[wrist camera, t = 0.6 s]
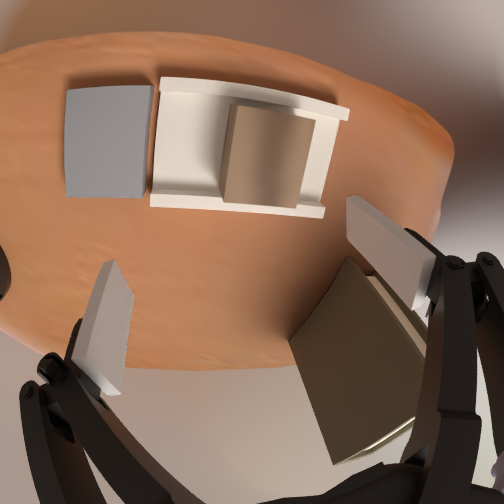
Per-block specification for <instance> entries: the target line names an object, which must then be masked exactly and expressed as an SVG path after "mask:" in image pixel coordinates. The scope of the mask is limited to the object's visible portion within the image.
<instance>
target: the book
mask: <svg viewBox="0 0 504 504" xmlns="http://www.w3.org/2000/svg"><path fill="white" fill-rule="evenodd" d="M427 334H428V328H427V326H426V325H425V324H424V322H423V321H422V320H421V318H420V317H419V316H418V314H417V313H416V312H415V311H414V310H412V311H411V310H410V309H409V308H408V306H407V305H406V304H405V303H404V302H403V301H402V299H401V298H400V297H399V296H398V295H397V294H396V292H395V291H394V290H393V289H392V288H391V287H390V285H389V284H388V283H387V282H386V281H385V280H384V279H383V278H382V276H381V275H380V274H379V273H378V272H377V271H376V270H375V271H374V273H373V274H372V276H366V275H365V274H364V273H363V272H362V270H361V269H360V268H359V267H358V265H357V264H356V263H355V262H354V260H353V259H352V258H349V257H346V259H345V261H344V263H343V265H342V267H341V269H340V270H339V272H338V274H337V276H336V278H335V280H334V282H333V283H332V285H331V287H330V289H329V290H328V291H327V293H326V294H325V296H324V297H323V298H322V300H321V301H320V303H319V304H318V305H317V307H316V308H315V309H314V311H313V312H312V313H311V315H310V316H309V317H308V319H307V320H306V321H305V322H304V324H303V325H302V326H301V327H300V328H299V330H298V331H297V332H296V333H295V334H294V336H293V337H292V338H291V339H290V340H289V341H288V342H289V345H290V347H291V350H292V353H293V356H294V358H295V361H296V364H297V366H298V369H299V372H300V375H301V377H302V380H303V383H304V386H305V388H306V391H307V394H308V397H309V400H310V402H311V405H312V408H313V411H314V413H315V416H316V419H317V422H318V424H319V427H320V430H321V432H322V435H323V438H324V441H325V444H326V446H327V449H328V452H329V455H330V458H331V461H332V463H333V465H338V464H343V463H347V462H351V461H354V460H357V459H360V458H362V457H365V456H368V455H371V454H373V453H374V452H376V451H378V450H379V449H381V448H383V447H384V446H386V445H387V444H389V443H390V442H392V441H394V440H395V439H397V438H398V437H400V436H401V435H403V434H404V433H406V432H407V431H409V430H410V429H411V428H413V424H414V420H415V416H416V411H417V406H418V401H419V396H420V390H421V384H422V378H423V371H424V363H425V355H426V345H427Z"/></svg>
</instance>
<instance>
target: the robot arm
mask: <svg viewBox="0 0 504 504" xmlns="http://www.w3.org/2000/svg"><path fill="white" fill-rule="evenodd" d="M346 228H347V240H348V241H349V242H350V243H351V244H352V245H353V246H354V247H355V248H356V249H357V250H358V251H359V252H360V253H361V255H362V256H363V257H364V258H365V259H366V260H367V261H368V262H369V263H370V264H371V265H372V266H373V268H374V269H375V270H376V271H377V272H378V273H379V274H380V275H381V276H382V278H383V279H384V280H385V281H386V282H387V283H388V284H389V285H390V287H391V288H392V289H393V290H394V291H395V292H396V294H397V295H398V296H399V297H400V298H401V299H402V301H403V302H404V303H405V304H406V305H407V306H408V308H409V309H410V310H411V311H412V310H414V309H416V308H418V307H420V306H422V305H423V304H424V300H425V297H426V295H427V296H428V297H429V298H430V300H431V301H430V304H429V307H428V310H427V313H426V316H425V317H427V316H428V314H429V318H428V319H429V320H428V334H427V345H426V355H425V363H424V371H423V378H422V384H421V390H420V396H419V401H418V406H417V411H416V416H415V420H414V424H413V429H412V433H411V437H410V439H409V441H408V443H407V445H406V447H405V449H404V452H403V454H402V457H401V460H400V463H394V464H386V465H384V464H383V462H380V463H378V464H376V465H374V466H372V467H370V468H368V469H366V470H363V471H361V472H359V473H356V474H354V475H352V476H350V477H349V478H347V479H346V480H344V481H343V482H341V483H340V484H338V485H337V486H335V487H334V488H332V489H331V490H329V491H327V492H326V493H324V494H321V495H316V496H305V497H289V498H281V499H277V500H273V501H268V502H263V503H259V504H504V269H503V267H502V265H501V264H500V262H499V260H498V259H497V258H496V257H495V256H494V255H493V254H491V253H489V252H480V253H478V254H477V258H476V261H475V262H468V263H466V262H465V261H464V260H462V259H461V258H459V257H456V256H452V255H449V256H445V255H443V254H442V253H441V252H440V251H439V250H437V249H436V248H435V247H434V246H433V245H431V244H430V243H429V242H427V240H425V239H424V238H422V236H420V235H419V234H418V233H417V232H415V231H413V230H410V229H408V228H404V229H403V228H402V227H400V226H399V225H398V224H397V223H395V222H394V221H393V220H391V219H390V218H389V217H387V216H386V215H385V214H383V213H382V212H381V211H379V210H378V209H377V208H375V207H374V206H373V205H371V204H370V203H368V202H367V201H366V200H364V199H363V198H361V197H360V196H359V195H353V196H349V197H346ZM10 285H11V272H10V267H9V264H8V261H7V258H6V256H5V254H4V252H3V250H2V248H1V247H0V301H1V300H2V299H3V298H4V296H5V295H6V293H7V292H8V290H9V288H10ZM487 296H488V299H487ZM134 298H135V297H134V295H133V293H132V291H131V290H130V288H129V286H128V284H127V282H126V280H125V279H124V277H123V275H122V273H121V271H120V269H119V267H118V265H117V263H116V261H115V259H114V260H111V261H108V262H105V263H103V265H102V267H101V270H100V272H99V275H98V277H97V280H96V283H95V285H94V288H93V291H92V293H91V296H90V299H89V302H88V305H87V308H86V311H85V314H84V317H83V318H80V319H79V320H78V321H77V323H76V324H75V326H74V328H73V331H72V334H71V336H72V337H70V341H69V344H68V347H67V351H66V354H65V358H64V361H63V360H62V359H61V357H60V356H59V355H58V354H57V353H55V352H51V353H48V354H46V355H45V356H44V357H43V358H42V359H41V360H40V362H39V364H38V367H37V373H38V375H39V376H40V377H41V378H42V379H43V380H44V381H45V382H47V383H46V384H43V385H41V386H39V385H38V384H37V383H36V382H35V381H32V380H30V381H28V382H26V383H25V384H24V385H23V386H22V388H21V390H20V395H19V400H20V412H21V421H22V428H23V435H24V441H25V446H26V451H27V456H28V461H29V466H30V470H31V474H32V477H33V481H34V485H35V488H36V492H37V495H38V498H39V501H40V504H107V503H106V501H105V499H104V497H103V495H102V493H101V490H100V488H99V486H98V484H97V482H96V479H95V477H94V475H93V472H92V470H91V467H90V465H89V462H88V460H87V457H86V455H85V452H84V450H85V451H86V453H87V454H88V456H89V457H90V459H91V460H92V462H93V463H94V464H95V466H96V467H97V469H98V470H99V471H100V473H101V474H102V475H103V477H104V478H105V480H106V481H107V482H108V484H109V485H110V486H111V487H112V488H113V490H114V491H115V492H116V494H117V495H118V496H119V497H120V498H121V500H122V501H123V502H124V503H125V504H205V503H204V502H203V501H201V500H200V499H199V498H197V497H196V496H195V495H194V494H192V493H191V492H190V491H189V490H188V489H186V488H185V487H184V486H183V485H182V484H181V483H180V482H178V481H177V480H176V479H175V478H174V477H173V476H172V475H171V474H170V473H169V472H167V471H166V470H165V469H164V468H163V467H162V466H161V465H160V464H159V463H158V462H157V461H156V460H155V459H154V458H153V457H152V456H151V455H150V454H149V453H148V452H147V451H146V450H145V449H144V447H143V446H142V445H141V444H140V443H139V442H138V441H137V440H136V439H135V438H134V436H133V435H132V434H131V433H130V432H129V431H128V430H127V428H126V427H125V426H124V425H123V424H122V422H121V421H120V420H119V419H118V418H117V417H116V415H115V414H114V413H113V411H112V410H111V409H110V408H109V406H108V405H107V404H106V402H105V401H104V400H103V399H102V398H101V397H100V390H102V391H103V392H104V393H106V395H108V396H111V395H121V394H122V387H123V376H124V366H125V358H126V349H127V342H128V335H129V328H130V321H131V315H132V309H133V303H134ZM488 300H489V301H488ZM477 349H478V353H479V356H480V360H481V365H482V369H483V373H484V378H485V383H486V388H487V394H488V399H489V406H490V413H491V421H492V429H493V438H494V444H495V449H496V453H497V457H498V459H497V461H496V463H495V464H494V465H493V467H492V469H491V474H492V476H493V477H496V479H495V483H494V485H493V488H488V487H484V486H479V485H475V484H472V483H471V482H472V478H473V473H474V470H475V465H476V460H477V455H478V449H479V442H480V435H481V427H482V420H481V417H480V416H479V415H477V414H476V412H475V406H476V392H477ZM83 448H84V449H83Z"/></svg>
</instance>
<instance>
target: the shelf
mask: <svg viewBox="0 0 504 504" xmlns="http://www.w3.org/2000/svg"><path fill="white" fill-rule="evenodd" d="M159 91H161V96H160V104H159V112H158V121H157V131H156V142H155V155H154V171H153V189H152V191H151V194H150V207H171V208H191V209H209V210H225V211H240V212H253V213H266V214H278V215H289V216H300V217H311V218H321V219H323V216H324V212H325V209H326V207H324V206H323V205H322V204H321V203H320V199H321V195H322V191H323V188H324V184H325V180H326V176H327V172H328V168H329V164H330V159H331V155H332V151H333V147H334V143H335V138H336V134H337V129H338V125H339V120H345V121H348V116H349V111H350V109H348V108H344V107H341V106H338V105H335V104H331V103H328V102H324V101H321V100H317V99H313V98H309V97H305V96H301V95H297V94H293V93H288V92H284V91H279V90H274V89H269V88H263V87H258V86H252V85H246V84H239V83H232V82H224V81H216V80H206V79H194V78H179V77H161V81H160V88H159ZM230 104H232V105H239V106H246V107H253V108H259V109H265V110H271V111H276V112H282V113H287V114H292V115H296V116H301V117H305V118H310V119H314V120H316V122H315V127H314V132H313V136H312V141H311V145H310V150H309V155H308V159H307V163H306V168H305V172H304V177H303V181H302V185H301V190H300V194H299V198H298V202H297V206H296V209H294V208H284V207H273V206H262V205H250V204H238V203H224V202H223V199H222V196H221V193H220V189H219V186H218V183H219V175H220V168H221V161H222V154H223V147H224V140H225V133H226V127H227V120H228V114H229V108H230Z"/></svg>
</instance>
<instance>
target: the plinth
mask: <svg viewBox="0 0 504 504" xmlns="http://www.w3.org/2000/svg"><path fill="white" fill-rule="evenodd" d="M153 93H154V86H151V85H128V86H104V87H91V88H80V89H71V90H67V96H66V108H65V128H64V167H65V187H66V197H102V198H142V197H143V195H144V193H145V191H146V171H147V154H148V140H149V128H150V118H151V109H152V101H153Z"/></svg>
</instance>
